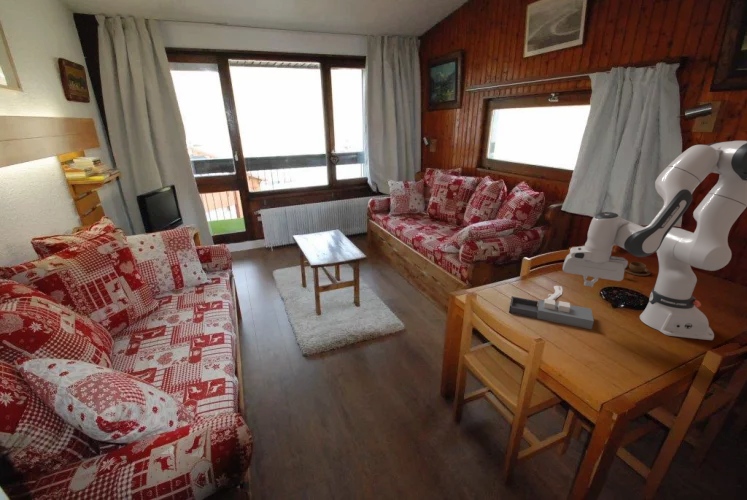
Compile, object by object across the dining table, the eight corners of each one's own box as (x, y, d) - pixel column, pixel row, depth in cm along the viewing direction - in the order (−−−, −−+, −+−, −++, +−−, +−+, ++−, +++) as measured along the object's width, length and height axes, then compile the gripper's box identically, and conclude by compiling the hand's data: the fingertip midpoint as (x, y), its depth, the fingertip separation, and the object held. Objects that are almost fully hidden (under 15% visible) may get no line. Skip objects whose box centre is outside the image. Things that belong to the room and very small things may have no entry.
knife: (558, 279, 172) (574, 284, 167) (557, 282, 173) (573, 287, 167) (530, 297, 154) (547, 303, 149) (530, 300, 155) (546, 306, 149)
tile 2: (568, 307, 141) (569, 302, 140) (569, 312, 137) (570, 307, 136) (557, 305, 142) (558, 300, 141) (558, 310, 139) (559, 305, 138)
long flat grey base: (588, 316, 141) (590, 308, 140) (591, 329, 133) (593, 321, 131) (537, 306, 149) (538, 299, 148) (537, 318, 141) (538, 310, 140)
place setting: (659, 279, 170) (662, 269, 168) (618, 279, 172) (621, 269, 169) (636, 265, 186) (639, 256, 184) (599, 265, 188) (602, 256, 186)
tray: (536, 306, 149) (537, 301, 148) (536, 318, 141) (537, 312, 140) (510, 301, 154) (511, 296, 153) (508, 312, 146) (509, 306, 145)
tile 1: (554, 305, 143) (555, 300, 142) (554, 309, 140) (555, 304, 139) (543, 303, 144) (544, 298, 144) (543, 307, 141) (544, 302, 140)
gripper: (627, 255, 125) (617, 287, 130) (566, 247, 134) (559, 277, 139) (631, 261, 120) (620, 294, 125) (567, 252, 128) (560, 284, 134)
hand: (588, 285), depth 132 cm, fingers closed
